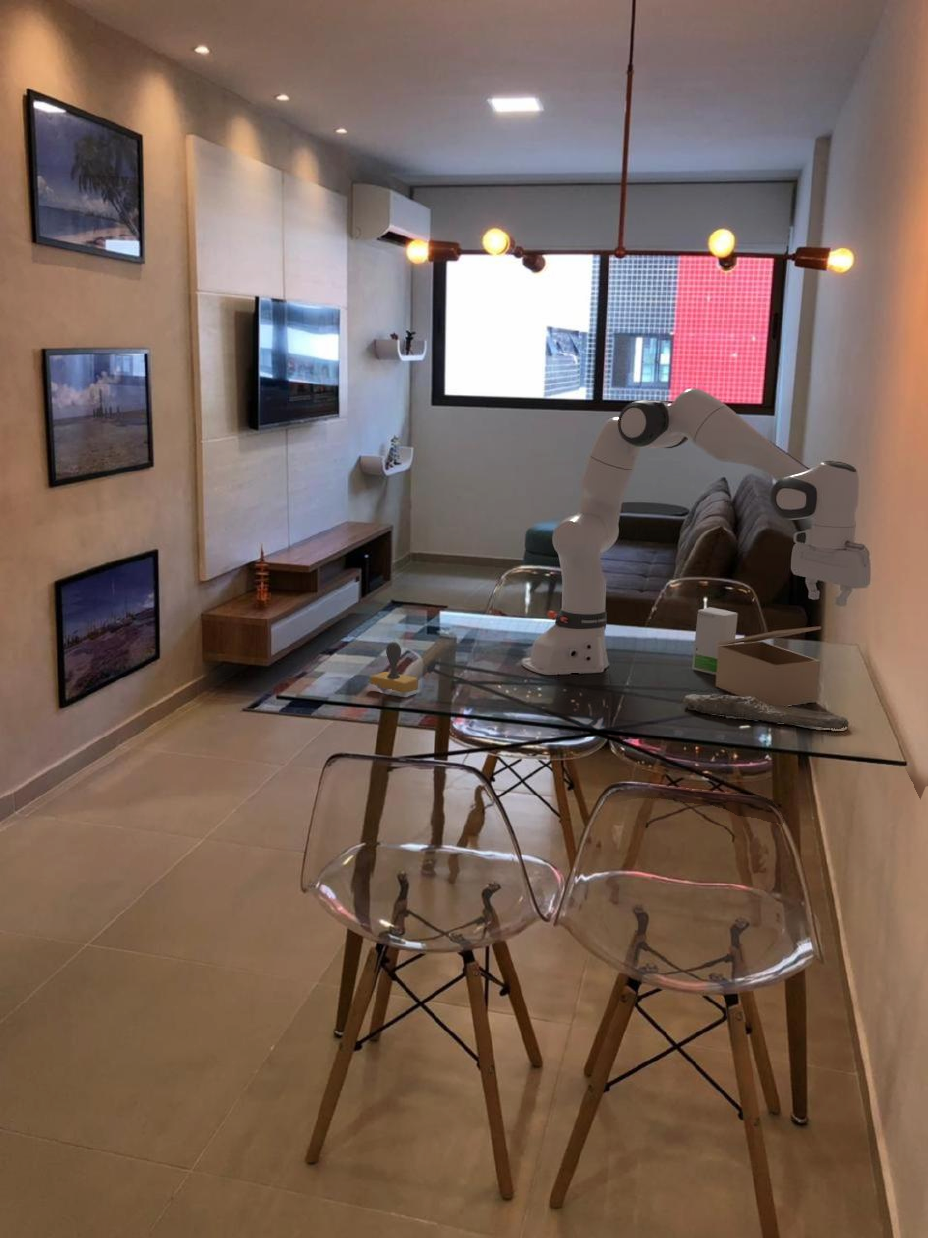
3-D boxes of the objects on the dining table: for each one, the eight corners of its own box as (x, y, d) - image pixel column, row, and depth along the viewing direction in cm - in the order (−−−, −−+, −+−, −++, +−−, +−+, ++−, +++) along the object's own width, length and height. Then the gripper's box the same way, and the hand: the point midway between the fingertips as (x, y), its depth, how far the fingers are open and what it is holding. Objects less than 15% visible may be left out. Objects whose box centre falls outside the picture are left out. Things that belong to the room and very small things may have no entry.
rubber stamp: (369, 691, 248) (369, 641, 245) (384, 686, 252) (384, 636, 250) (403, 699, 242) (403, 647, 240) (418, 693, 247) (418, 642, 245)
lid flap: (776, 633, 236) (775, 630, 236) (718, 645, 255) (718, 642, 255) (821, 628, 241) (820, 626, 241) (761, 640, 260) (761, 638, 260)
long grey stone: (843, 744, 221) (848, 733, 230) (847, 720, 220) (852, 710, 229) (677, 711, 235) (688, 702, 244) (680, 688, 234) (691, 680, 243)
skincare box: (691, 670, 271) (695, 610, 268) (705, 665, 276) (708, 606, 273) (720, 676, 266) (725, 615, 262) (734, 671, 271) (738, 611, 267)
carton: (771, 709, 239) (775, 665, 237) (715, 686, 257) (718, 645, 255) (816, 702, 245) (820, 660, 242) (758, 680, 262) (761, 641, 260)
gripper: (881, 544, 219) (874, 610, 222) (810, 531, 238) (805, 593, 240) (857, 545, 217) (851, 612, 220) (788, 533, 235) (783, 594, 238)
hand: (826, 602), depth 230 cm, fingers open, 7 cm apart
